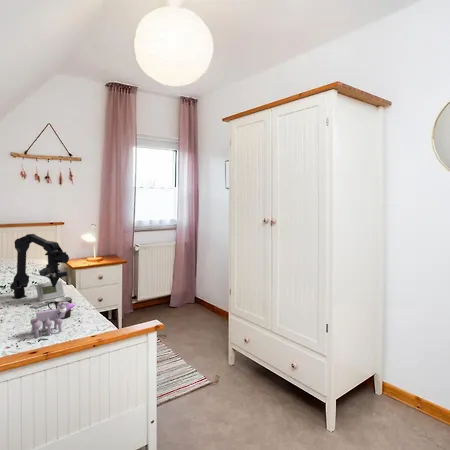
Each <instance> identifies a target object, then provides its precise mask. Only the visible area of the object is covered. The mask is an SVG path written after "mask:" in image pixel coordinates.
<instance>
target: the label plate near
mask: <svg viewBox="0 0 450 450" xmlns="http://www.w3.org/2000/svg"><path fill="white" fill-rule="evenodd" d="M47 306H48V303H45V302H41V303H37V304H34V305H32V306H31V305H30V306H29V308H31V309H36V310H38V309H40V308H41V309H42V308H43V307H47Z"/></svg>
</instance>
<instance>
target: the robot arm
mask: <svg viewBox="0 0 450 450" xmlns="http://www.w3.org/2000/svg"><path fill="white" fill-rule="evenodd" d="M13 243H14V249H15V250H16V251H17V252H16V253H17V258H16V259H17V260H16V274H15V275H14V277H13V279H12V280H13V281H12V283H11V284H10V286H9V289H10V290H11V291H13V296H11V299H17V300H19V299H22V298H26V297H28V296H27V295H26V294H25V293H26V291H25V288H28V284H29V282H30V275H28V274H27V273H26V272H27V252H28V250H29V249H30V246H31V244H32V243H34V244H35V245H37V246H40V247H42V248H43V250H44V251H46V252H45V253H44V256H47V263H46V265H45V267H43V268H42V269H40V270H39V271H38V273H39V276H40V277H46V279H47V278H48V279H49V282H51V283H52V286H53V287H55V286H56V284H57V282H58V281H60V280H59V279H60V278H64V277H68V271H65V270H61V269H59V266H60V264H67V263H68V262H69V260H70V256H69V254H67V251H63V249H62V247H61V246H60V244H59V242H56V241H54V240H53V241H51V240H47V239H45V238H44V237H43V238H42V237H40V236H38V235H36V234H35V233H28V234H26V235H24V236H22V237H19V238H16V239H15V240H14V242H13Z"/></svg>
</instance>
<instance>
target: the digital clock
mask: <svg viewBox="0 0 450 450" xmlns="http://www.w3.org/2000/svg"><path fill="white" fill-rule="evenodd" d="M35 288H36V293H37V300H38V302H43V301H44V302H47V301H50V300H54V299H57V298H61V297H66V296H65V295H66V294H65V289H64V282H63V280H58V282H57V284H56V286H55V287H53V286H52V283H51V281H48V282H45V283H43V282H42V283H38V284H36V286H35Z"/></svg>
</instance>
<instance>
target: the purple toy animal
mask: <svg viewBox="0 0 450 450" xmlns="http://www.w3.org/2000/svg"><path fill="white" fill-rule="evenodd" d="M75 306H77V304H75V303H72V304H71V303H68V302H59V303H58V304H57V309H56V308H51V309H46V310H40V311H36V312H35V313H36V314H35V315H36V318H35V317H34V318H31V319H30V324H31V334H35V338H37V337H38V338H39V337H40V333H39V329H40V327H41V325H42V328H41V329H42V330H41V331H42V332H46V328H47V332H48V333H47V334H49V335H48V336H51V335H50V334H53V333H52V325H54V327H53V329H54V330H57V329H58V333H59V332H62V333H63V327H62V323H63V319H60V318H63V317H64V316H65V313H66V312H67V311H68V310H70V309H71V310H72V309H73V308H74V307H75ZM58 313H59V314H58ZM57 314H58V315H57ZM41 322H42V324H41ZM53 322H54V324H53ZM56 328H57V329H56ZM38 338H37V339H38Z"/></svg>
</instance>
